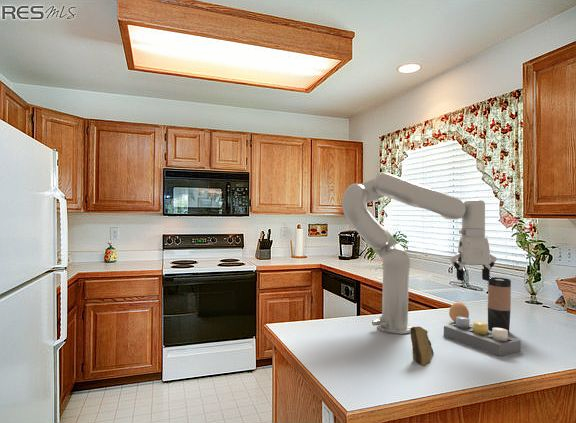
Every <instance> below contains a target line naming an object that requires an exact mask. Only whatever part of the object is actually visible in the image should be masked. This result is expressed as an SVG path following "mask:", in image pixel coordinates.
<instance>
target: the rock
mask: <svg viewBox="0 0 576 423" xmlns="http://www.w3.org/2000/svg"><path fill="white" fill-rule="evenodd" d="M411 327H412V326H411ZM428 333H429V331H428V330H427V329H425V328H423V327H421V326H413V327H412V328H410V340H411V346H412V347H411V348H412V351H411V352H412V360H413V361H414V363H415V362H416V364H418V365H420V366H422V367H425V365H427V364H430V363H431V361H432V358H433V357H432V356H433V355H434V354H435V352H434V349H433V347H432V342H431V340H430V339H429V335H428Z"/></svg>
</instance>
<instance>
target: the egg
mask: <svg viewBox="0 0 576 423" xmlns="http://www.w3.org/2000/svg"><path fill="white" fill-rule="evenodd" d="M469 316H470V312H469V308H468V307H467V306H466V305H465V304H464V303H463V302H459V301H457V302H454V303H452V304H451V306H450V307H449V317H450V318H449V319H451V320H452V321H453V322H454V323H456V317H466V318H469ZM469 319H470V318H469Z"/></svg>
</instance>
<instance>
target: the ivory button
mask: <svg viewBox="0 0 576 423" xmlns="http://www.w3.org/2000/svg"><path fill="white" fill-rule="evenodd" d="M508 336H509V333H508V330H506V329H503V328H492V339H494V340H496V341H501V342H507V341H508Z"/></svg>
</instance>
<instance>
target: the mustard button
mask: <svg viewBox="0 0 576 423" xmlns="http://www.w3.org/2000/svg"><path fill="white" fill-rule="evenodd" d="M472 325H473V332H474V333H475V334H479V335H487V334H488V323H486V322H482V321H474V322H473V324H472Z"/></svg>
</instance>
